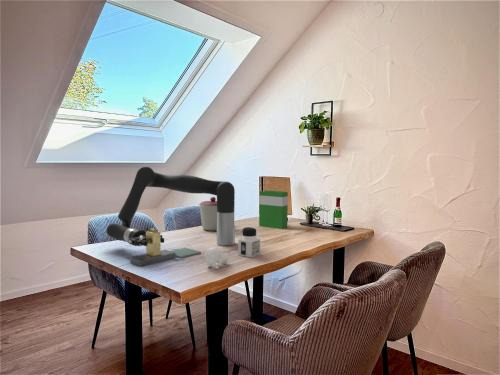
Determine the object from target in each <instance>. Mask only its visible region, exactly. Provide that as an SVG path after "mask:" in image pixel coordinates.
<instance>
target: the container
mask: <svg viewBox="0 0 500 375" xmlns="http://www.w3.org/2000/svg"><path fill="white" fill-rule="evenodd" d="M237 243H238V245H237V246H238V247H237V248H238V249H237V251H238V252H237V253H238V254H237V255H238V256H240V257H241V256H242V257H246V258H251V257H252V258H254V257H256V255H257V256H259V255H260V254H261V238H259V237H257V229H256V227H253V226H246V227H244V228H242V237H241V238H238V242H237Z"/></svg>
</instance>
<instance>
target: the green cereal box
mask: <svg viewBox="0 0 500 375" xmlns="http://www.w3.org/2000/svg"><path fill="white" fill-rule="evenodd" d="M288 195H289V192H288V191H280V190H267V189H266V190H259V201H258V202H259V203H258V204H259V207H258V209H259V210H258V212H259V214H258V226H259V227H263V228H271V229H277V228H278V229H279V230H284V229H286V228H288V204H289V202H288V201H289V196H288Z"/></svg>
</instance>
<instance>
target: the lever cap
mask: <svg viewBox="0 0 500 375" xmlns="http://www.w3.org/2000/svg"><path fill="white" fill-rule="evenodd" d="M145 232H146V241H147V242H148V245H147V246H145V251H146V253H145V254H146V255H147V256H150V257H156V256H160V255H161V251H162V250H161V247H162V246H161V243H160V235H161V231H160V230H158V229H156V228H151V227H150V228H148V230H147V231H145Z"/></svg>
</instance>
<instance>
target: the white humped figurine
mask: <svg viewBox="0 0 500 375" xmlns="http://www.w3.org/2000/svg"><path fill="white" fill-rule="evenodd" d="M229 258H230V256H229V254H227V253H224V252H223V251H222V250H221V248H218V247H213V246H212V247H210V248H208V249H207V250H206V251H205V253H204V260H205V263H206V266H207V267H208V268H211V267H212V268H213V269H215V270H219V268H220V265H222V264H223V265H227V264H228V262H229ZM216 263H217V264H218V265H217V264H216Z"/></svg>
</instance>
